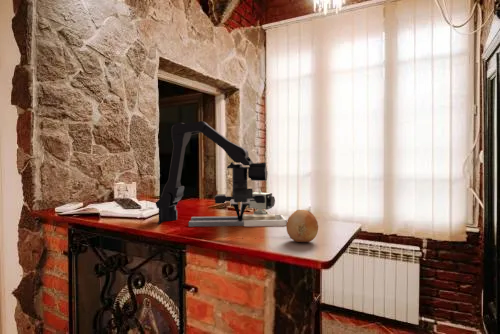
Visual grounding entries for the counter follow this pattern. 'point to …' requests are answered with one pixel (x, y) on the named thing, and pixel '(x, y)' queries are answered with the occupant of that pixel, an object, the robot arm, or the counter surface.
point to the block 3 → (270, 217)
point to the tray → (267, 221)
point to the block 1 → (248, 217)
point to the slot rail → (216, 221)
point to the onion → (302, 226)
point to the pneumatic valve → (267, 205)
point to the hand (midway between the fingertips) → (239, 221)
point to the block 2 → (259, 217)
